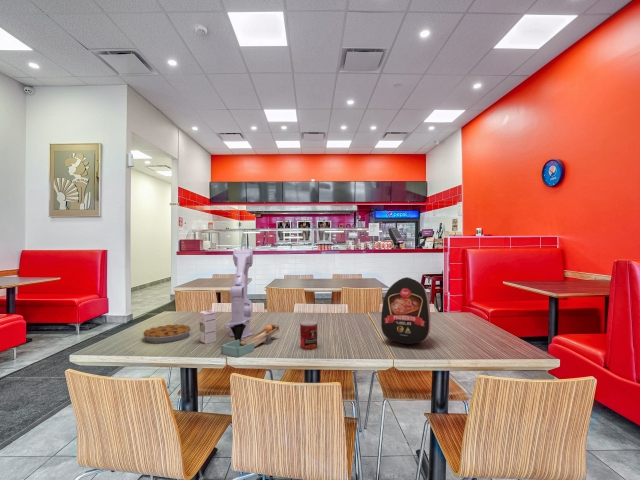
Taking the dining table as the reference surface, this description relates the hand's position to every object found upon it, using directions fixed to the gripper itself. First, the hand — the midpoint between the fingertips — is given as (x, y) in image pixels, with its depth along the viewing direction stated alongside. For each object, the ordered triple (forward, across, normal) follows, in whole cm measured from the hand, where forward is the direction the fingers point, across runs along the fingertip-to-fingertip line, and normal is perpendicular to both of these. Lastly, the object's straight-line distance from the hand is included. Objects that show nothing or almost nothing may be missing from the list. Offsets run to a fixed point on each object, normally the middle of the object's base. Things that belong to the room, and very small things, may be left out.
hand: (238, 340), depth 149 cm
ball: (-4, +12, -8) cm, 15 cm away
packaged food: (+2, +41, -67) cm, 79 cm away
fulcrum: (+2, +8, -8) cm, 11 cm away
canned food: (+2, +13, -31) cm, 34 cm away
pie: (+2, -9, +40) cm, 41 cm away
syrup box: (+2, -4, +16) cm, 17 cm away
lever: (-1, +8, -4) cm, 9 cm away
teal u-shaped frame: (+2, -8, -8) cm, 11 cm away
